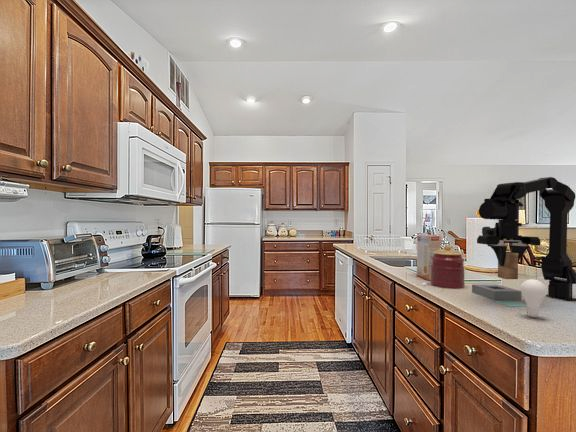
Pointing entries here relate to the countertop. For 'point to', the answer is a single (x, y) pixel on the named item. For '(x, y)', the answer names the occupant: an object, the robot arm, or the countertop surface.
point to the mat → (511, 303)
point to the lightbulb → (533, 295)
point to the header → (496, 292)
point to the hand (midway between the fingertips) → (507, 266)
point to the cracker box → (426, 254)
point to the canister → (447, 268)
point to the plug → (509, 267)
